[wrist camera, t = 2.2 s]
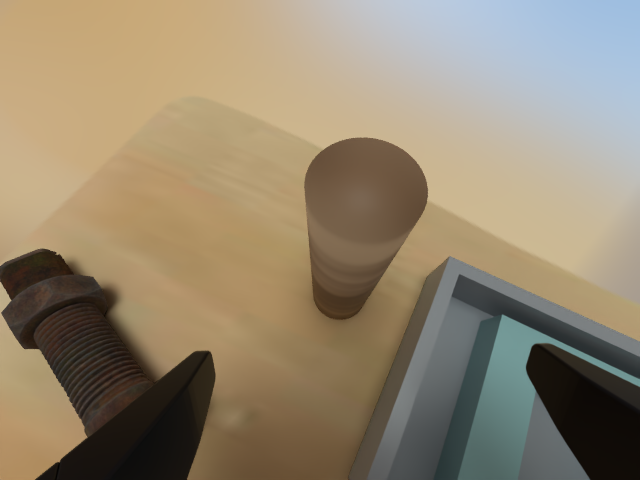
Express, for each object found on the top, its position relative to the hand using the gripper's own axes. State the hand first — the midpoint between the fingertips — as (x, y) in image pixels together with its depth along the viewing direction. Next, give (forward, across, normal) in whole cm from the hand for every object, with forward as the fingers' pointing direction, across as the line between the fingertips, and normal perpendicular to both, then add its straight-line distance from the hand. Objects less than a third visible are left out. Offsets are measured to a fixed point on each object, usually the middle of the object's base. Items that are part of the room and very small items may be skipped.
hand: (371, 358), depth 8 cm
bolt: (+9, +15, +7) cm, 19 cm away
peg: (+11, 0, +5) cm, 12 cm away
